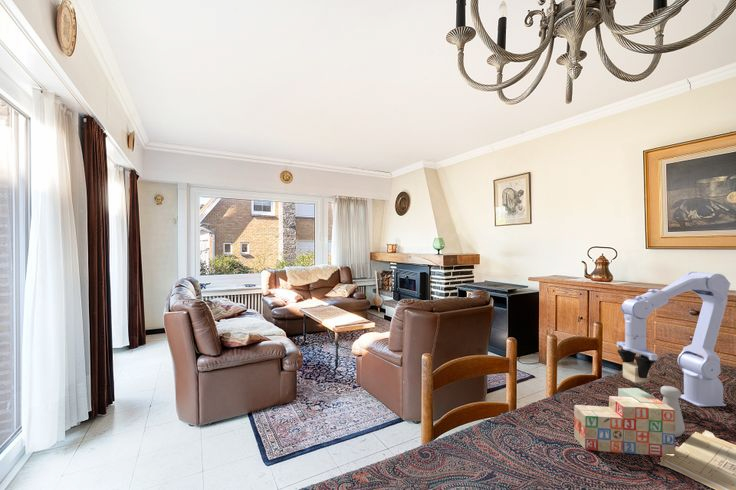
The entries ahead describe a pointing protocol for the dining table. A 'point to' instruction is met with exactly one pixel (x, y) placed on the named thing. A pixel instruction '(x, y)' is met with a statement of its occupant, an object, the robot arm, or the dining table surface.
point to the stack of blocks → (626, 426)
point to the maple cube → (633, 372)
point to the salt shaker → (674, 407)
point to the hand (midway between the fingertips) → (635, 374)
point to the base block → (633, 393)
